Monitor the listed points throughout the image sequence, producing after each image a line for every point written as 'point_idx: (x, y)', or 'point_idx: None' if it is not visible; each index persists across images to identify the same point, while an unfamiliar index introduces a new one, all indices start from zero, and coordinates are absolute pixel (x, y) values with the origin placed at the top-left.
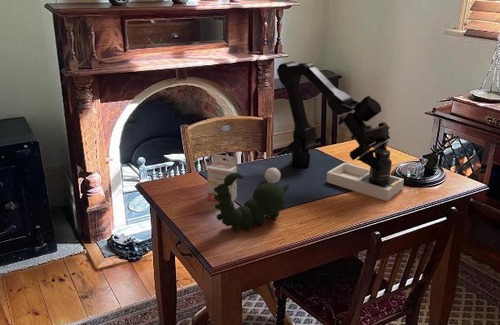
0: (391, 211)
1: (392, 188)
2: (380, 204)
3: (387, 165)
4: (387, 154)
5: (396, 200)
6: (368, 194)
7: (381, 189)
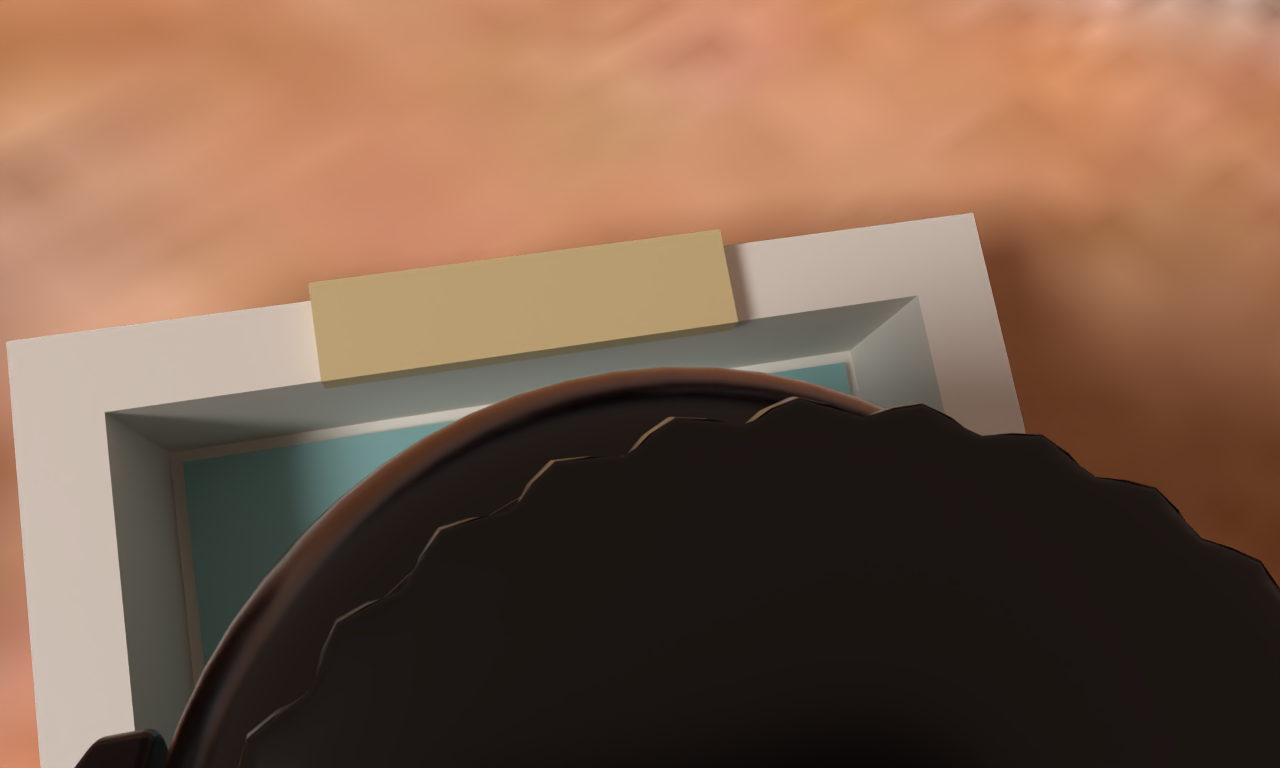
0: (1140, 18)
1: (730, 255)
2: (1092, 296)
3: (849, 397)
4: (963, 443)
5: (706, 190)
6: None
7: (1001, 392)
